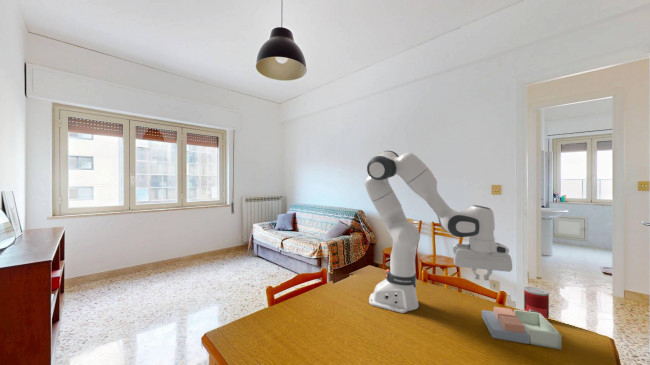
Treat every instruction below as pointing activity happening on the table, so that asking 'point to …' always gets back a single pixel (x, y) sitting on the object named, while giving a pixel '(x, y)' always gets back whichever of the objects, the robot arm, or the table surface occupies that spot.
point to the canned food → (536, 301)
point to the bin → (539, 329)
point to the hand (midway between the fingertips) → (481, 279)
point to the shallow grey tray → (502, 329)
